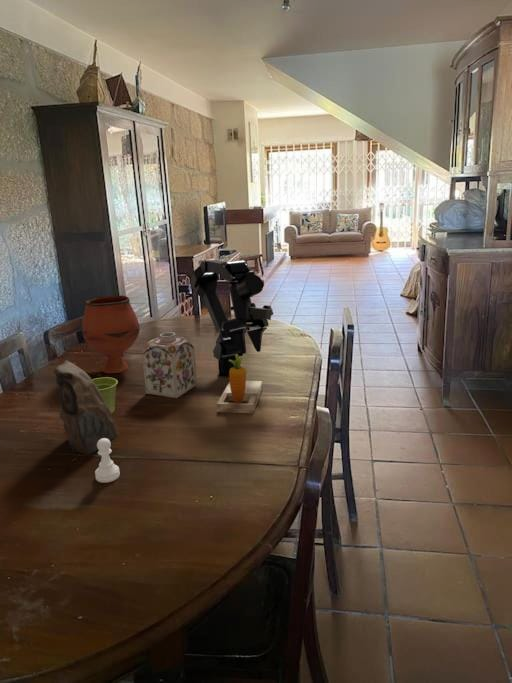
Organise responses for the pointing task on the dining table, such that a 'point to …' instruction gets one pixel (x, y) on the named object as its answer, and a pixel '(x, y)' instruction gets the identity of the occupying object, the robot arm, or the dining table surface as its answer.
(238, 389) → the carrot
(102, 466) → the chess pawn
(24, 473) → the dining table surface
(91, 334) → the goblet
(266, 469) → the dining table surface
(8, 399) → the dining table surface
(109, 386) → the plant pot
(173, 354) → the decorative jar
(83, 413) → the owl
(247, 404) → the open matchbox
